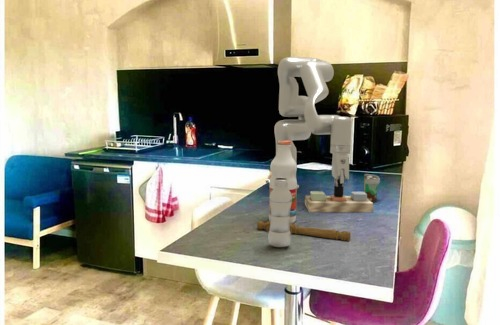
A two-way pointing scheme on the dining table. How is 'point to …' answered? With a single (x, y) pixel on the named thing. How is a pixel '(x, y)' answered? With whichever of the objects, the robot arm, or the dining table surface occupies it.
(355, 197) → the slate button
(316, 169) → the dining table surface
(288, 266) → the dining table surface
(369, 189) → the food container
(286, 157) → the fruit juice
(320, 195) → the sage button
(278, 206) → the plastic bottle
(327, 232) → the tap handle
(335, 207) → the button panel
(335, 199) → the terracotta button
